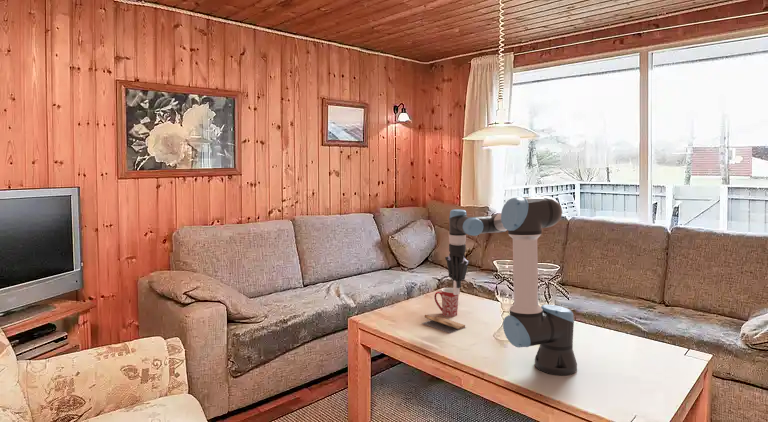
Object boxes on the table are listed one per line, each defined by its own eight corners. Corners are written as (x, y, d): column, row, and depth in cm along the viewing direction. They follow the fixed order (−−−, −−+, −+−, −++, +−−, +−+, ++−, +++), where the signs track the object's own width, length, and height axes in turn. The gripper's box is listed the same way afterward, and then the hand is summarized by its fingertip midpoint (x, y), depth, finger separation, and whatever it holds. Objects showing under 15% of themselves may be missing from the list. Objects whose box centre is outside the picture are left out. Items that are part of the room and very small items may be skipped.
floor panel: (466, 329, 229) (466, 325, 229) (450, 335, 222) (450, 330, 222) (437, 320, 243) (437, 315, 243) (421, 325, 236) (421, 320, 236)
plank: (459, 329, 227) (459, 327, 227) (451, 326, 223) (452, 323, 223) (432, 320, 240) (432, 318, 240) (424, 317, 236) (425, 314, 236)
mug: (461, 314, 251) (461, 288, 250) (455, 320, 243) (455, 293, 242) (437, 311, 257) (438, 286, 256) (431, 316, 249) (431, 290, 247)
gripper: (473, 244, 223) (472, 295, 226) (452, 240, 233) (451, 289, 236) (462, 246, 219) (461, 299, 222) (441, 242, 229) (440, 292, 232)
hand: (456, 294), depth 229 cm, fingers closed
